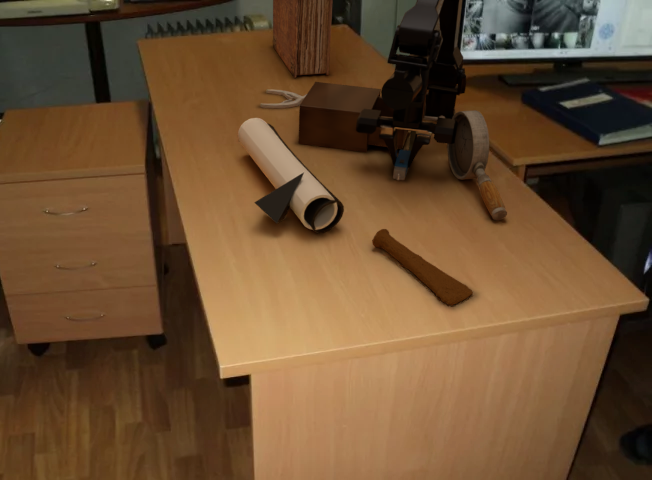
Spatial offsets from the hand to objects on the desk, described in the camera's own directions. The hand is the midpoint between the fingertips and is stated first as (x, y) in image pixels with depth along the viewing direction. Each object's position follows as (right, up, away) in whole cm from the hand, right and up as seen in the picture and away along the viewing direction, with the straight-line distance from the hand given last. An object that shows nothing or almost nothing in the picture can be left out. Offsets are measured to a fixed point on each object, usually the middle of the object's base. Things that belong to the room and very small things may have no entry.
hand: (401, 166), depth 145 cm
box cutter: (0, -1, +1) cm, 1 cm away
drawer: (+1, +8, +11) cm, 14 cm away
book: (-19, +37, +53) cm, 67 cm away
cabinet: (-11, +9, +14) cm, 20 cm away
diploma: (-26, -6, -7) cm, 27 cm away
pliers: (-21, +20, +29) cm, 41 cm away
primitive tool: (-2, -21, -28) cm, 35 cm away
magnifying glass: (+13, -5, -5) cm, 15 cm away
